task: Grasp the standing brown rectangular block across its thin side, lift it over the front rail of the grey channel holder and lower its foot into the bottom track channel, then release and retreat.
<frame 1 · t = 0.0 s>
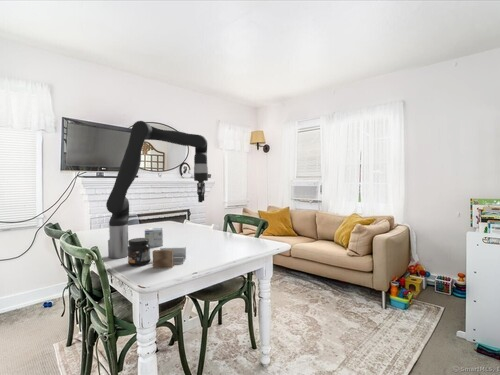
hand: (201, 201, 152), 29 cm above the table, fingers open, 8 cm apart
light bulb box: (154, 246, 174), on the table
brown rectangular block: (163, 267, 131), on the table
supplement container: (139, 263, 137), on the table
grey channel holder: (171, 261, 139), on the table
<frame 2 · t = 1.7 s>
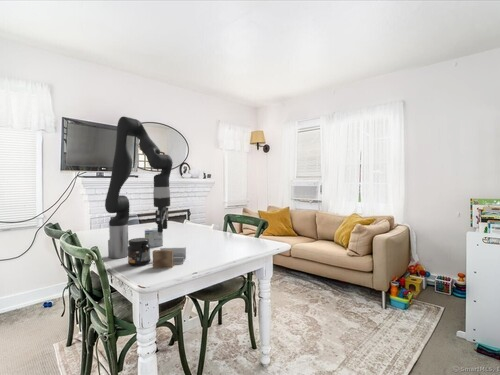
hand: (162, 230, 130), 17 cm above the table, fingers open, 8 cm apart
nothing on the table moved.
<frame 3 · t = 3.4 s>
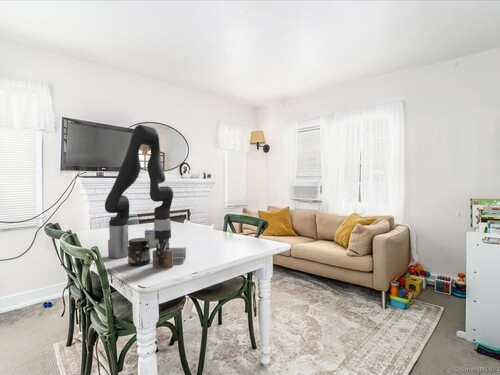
hand: (163, 262, 130), 2 cm above the table, fingers open, 8 cm apart
nothing on the table moved.
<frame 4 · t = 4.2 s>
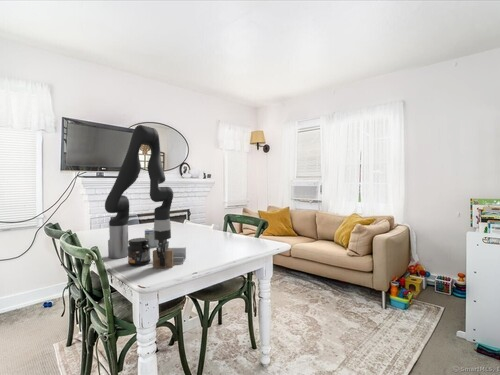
hand: (163, 264, 131), 1 cm above the table, fingers closed on brown rectangular block, 2 cm apart
brown rectangular block: (163, 267, 131), on the table, touching gripper
everything else where it was.
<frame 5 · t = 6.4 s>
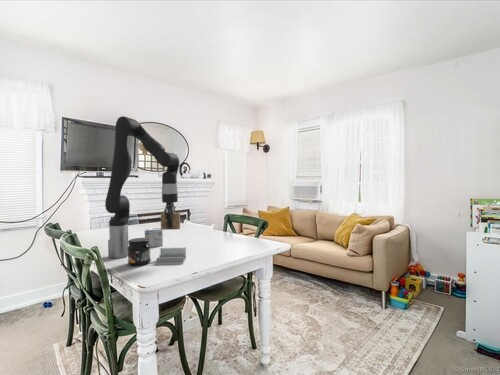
hand: (170, 226, 138), 18 cm above the table, fingers closed on brown rectangular block, 2 cm apart
brown rectangular block: (170, 229, 138), point 17 cm above the table, touching gripper
everything else where it was.
when the fingers open (4 cm above the table, at t = 8.8 s): brown rectangular block stays where it is, resting on grey channel holder.
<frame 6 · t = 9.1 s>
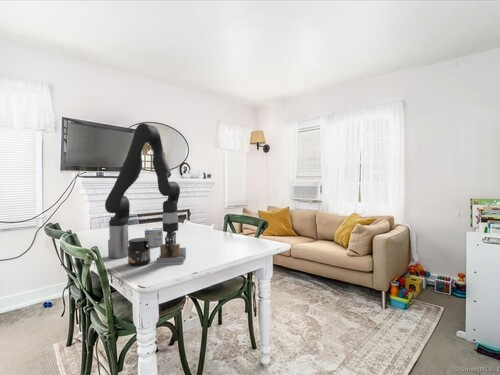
hand: (171, 254, 138), 4 cm above the table, fingers open, 5 cm apart
brown rectangular block: (170, 260, 139), point 1 cm above the table, touching grey channel holder
everything else where it was.
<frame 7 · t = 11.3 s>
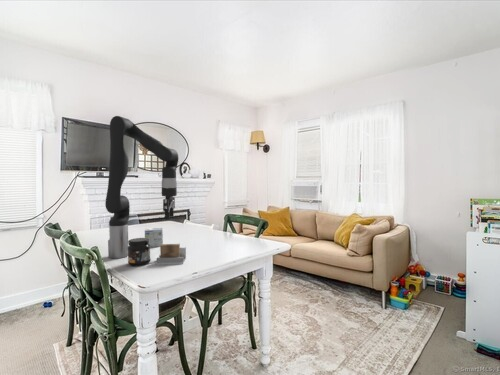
hand: (169, 217, 143), 22 cm above the table, fingers open, 8 cm apart
nothing on the table moved.
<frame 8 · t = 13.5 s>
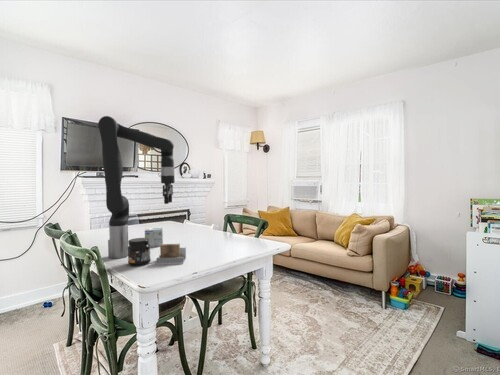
hand: (168, 203, 159), 28 cm above the table, fingers open, 8 cm apart
nothing on the table moved.
at the end: brown rectangular block inside the target area on the grey channel holder (0.5 cm from its centre), point 0.8 cm above the grey channel holder's base; brown rectangular block tilted 0°; the gripper is holding nothing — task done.
